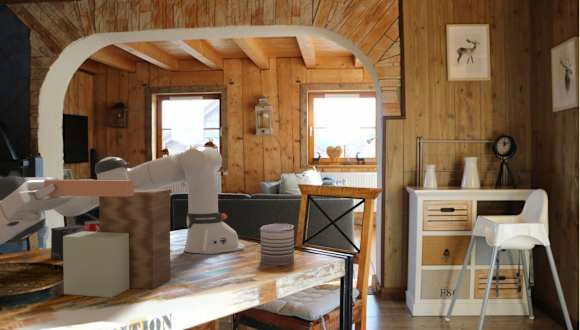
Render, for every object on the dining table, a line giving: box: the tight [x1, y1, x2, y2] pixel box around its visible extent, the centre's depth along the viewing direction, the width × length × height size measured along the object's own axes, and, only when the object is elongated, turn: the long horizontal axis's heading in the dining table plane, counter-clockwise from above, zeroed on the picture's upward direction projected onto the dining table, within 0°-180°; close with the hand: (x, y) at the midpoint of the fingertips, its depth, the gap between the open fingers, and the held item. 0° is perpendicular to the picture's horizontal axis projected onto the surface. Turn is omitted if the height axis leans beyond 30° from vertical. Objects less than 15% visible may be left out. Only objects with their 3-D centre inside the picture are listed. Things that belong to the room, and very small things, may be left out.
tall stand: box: [98, 188, 172, 290], centre depth 135 cm, size 17×11×26 cm, turn 78°
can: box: [259, 223, 295, 266], centre depth 162 cm, size 11×11×12 cm
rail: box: [44, 179, 134, 197], centre depth 125 cm, size 24×4×4 cm, turn 77°
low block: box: [62, 231, 130, 298], centre depth 126 cm, size 14×8×15 cm, turn 78°
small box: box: [50, 224, 84, 261], centre depth 170 cm, size 11×6×10 cm, turn 148°
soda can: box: [83, 220, 100, 232], centre depth 165 cm, size 7×7×13 cm
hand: (61, 185), depth 127 cm, fingers closed on rail, 3 cm apart
